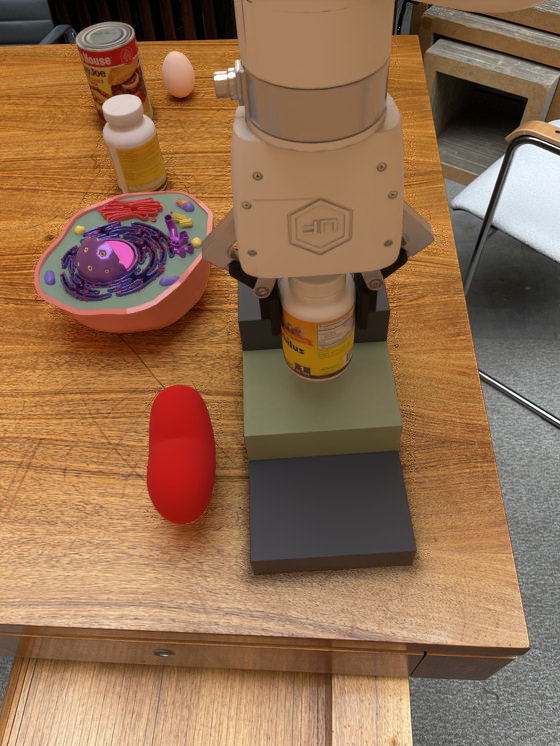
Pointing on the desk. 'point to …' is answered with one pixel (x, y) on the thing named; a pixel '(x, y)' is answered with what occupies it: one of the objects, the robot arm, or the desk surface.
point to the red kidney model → (180, 455)
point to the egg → (178, 74)
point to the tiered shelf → (323, 454)
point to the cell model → (129, 262)
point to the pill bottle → (133, 146)
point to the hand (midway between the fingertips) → (317, 317)
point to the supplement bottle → (318, 324)
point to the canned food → (112, 64)
